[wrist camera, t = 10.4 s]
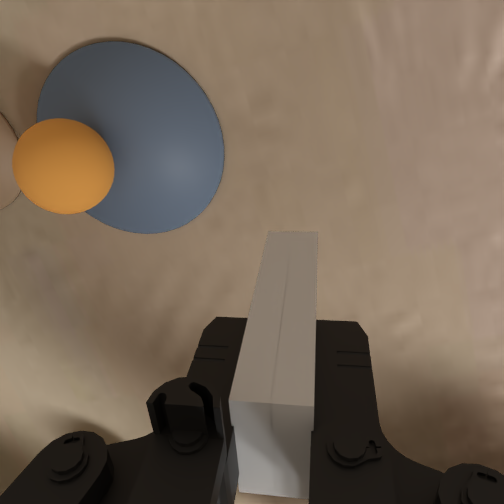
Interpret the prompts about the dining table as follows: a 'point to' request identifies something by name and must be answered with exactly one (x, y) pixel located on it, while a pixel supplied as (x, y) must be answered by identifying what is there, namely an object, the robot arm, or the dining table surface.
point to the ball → (63, 166)
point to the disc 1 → (7, 164)
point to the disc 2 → (141, 132)
